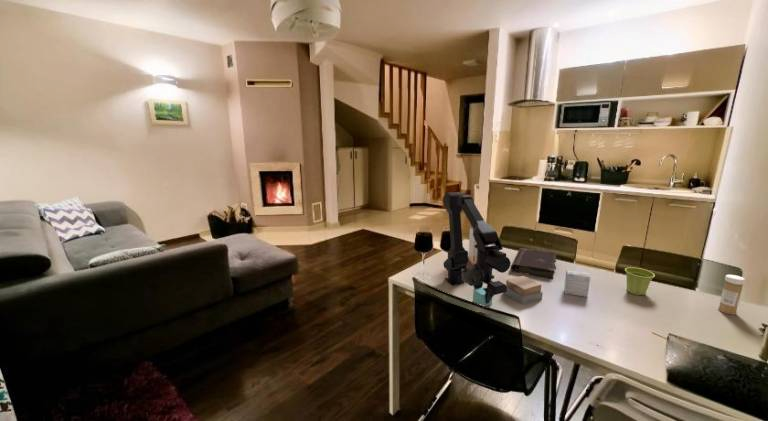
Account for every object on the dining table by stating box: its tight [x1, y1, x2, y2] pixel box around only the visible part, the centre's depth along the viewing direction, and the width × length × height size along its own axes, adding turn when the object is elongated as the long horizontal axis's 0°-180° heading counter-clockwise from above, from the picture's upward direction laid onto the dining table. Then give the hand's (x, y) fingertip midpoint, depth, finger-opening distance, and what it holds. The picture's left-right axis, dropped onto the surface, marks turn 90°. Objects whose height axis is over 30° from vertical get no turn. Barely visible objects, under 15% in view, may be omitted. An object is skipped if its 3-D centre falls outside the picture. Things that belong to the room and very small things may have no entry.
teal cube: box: [472, 286, 493, 307], centre depth 122 cm, size 5×5×5 cm
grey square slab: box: [504, 288, 544, 305], centre depth 127 cm, size 10×10×4 cm
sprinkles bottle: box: [717, 274, 746, 316], centre depth 112 cm, size 5×5×13 cm
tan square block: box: [505, 275, 542, 296], centre depth 126 cm, size 9×9×3 cm
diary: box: [510, 247, 557, 280], centre depth 155 cm, size 19×25×5 cm
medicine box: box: [563, 269, 591, 298], centre depth 127 cm, size 8×4×9 cm, turn 65°
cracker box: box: [468, 222, 489, 267], centre depth 156 cm, size 14×6×21 cm, turn 179°
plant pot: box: [624, 267, 656, 296], centre depth 127 cm, size 9×9×9 cm
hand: (482, 300), depth 122 cm, fingers closed on teal cube, 5 cm apart
